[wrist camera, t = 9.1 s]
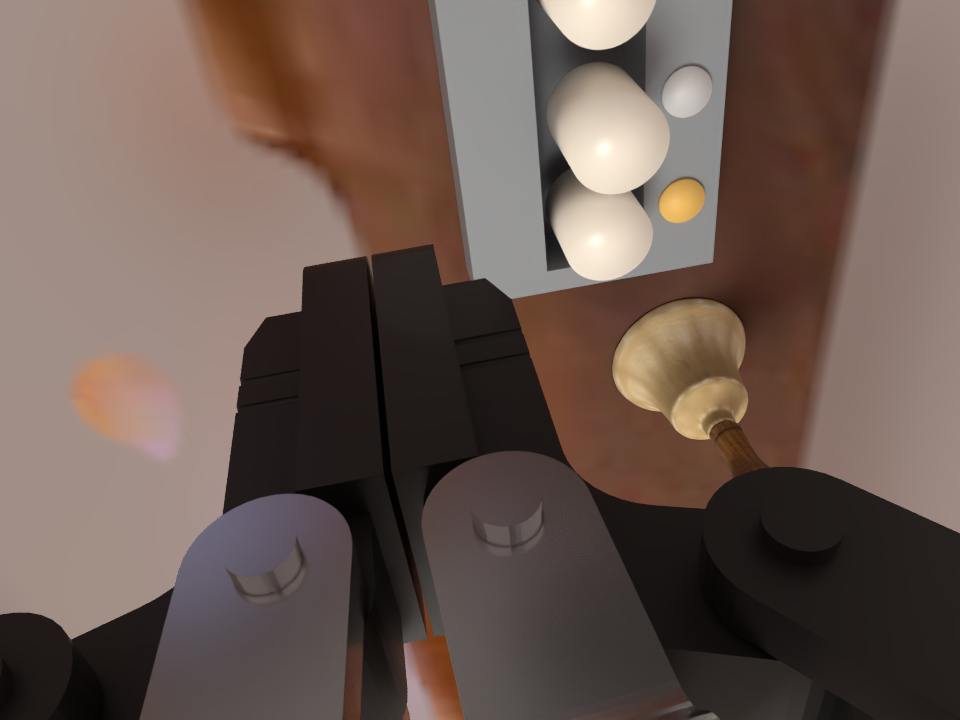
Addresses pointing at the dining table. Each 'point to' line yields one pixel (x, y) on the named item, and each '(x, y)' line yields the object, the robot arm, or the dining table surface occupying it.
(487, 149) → the console
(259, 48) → the dining table surface
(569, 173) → the button
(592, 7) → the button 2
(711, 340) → the hand bell
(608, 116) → the button middle
